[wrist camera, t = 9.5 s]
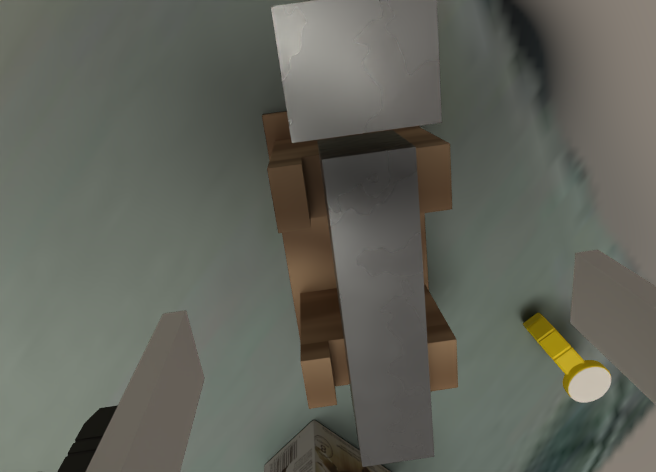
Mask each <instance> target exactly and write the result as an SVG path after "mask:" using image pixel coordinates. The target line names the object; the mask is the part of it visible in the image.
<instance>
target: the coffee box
mask: <svg viewBox="0 0 656 472" xmlns="http://www.w3.org/2000/svg"><path fill="white" fill-rule="evenodd" d="M264 472H390V471H389V470H387V469H386V468H384V467H383V466H381V465H373V466H367V467H362V462H361V455H360V451H359V450H358V449H356V448H355V447H353V446H352V445H350V444H349V443H348V442H346V441H345V440H343V439H342V438H340V437H339V436H337V435H336V434H334V433H333V432H331V431H330V430H328V429H327V428H325V427H324V426H323V425H321V424H320V423H318V422H317V421H315V420H313V421H312V422H311V423H309V424H308V425H307V426H306V427H305V428H304V429H303V430H302V431H301V432H300V433H299V434H298V435H297V436H295V437H294V438H293V439H292V440H291V441H290V442H289V443H288V444H287V445H286V446H285V447H284V448H283V449H281V450H280V451H279V452H278V453H277V454H276V455H275V456H274V457H273V458H272V459H271V460H270V461H269V462H268V463H266V464H265V466H264Z"/></svg>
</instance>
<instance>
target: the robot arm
mask: <svg viewBox="0 0 656 472" xmlns="http://www.w3.org/2000/svg"><path fill="white" fill-rule="evenodd" d="M570 323H571V324H572V325H573V326H574V327H575V328H576V329H577V330H578V331H579V332H580V333H581V334H582V335H583V336H584V337H585V338H586V339H587V340H588V341H589V342H591V343H592V344H593V345H594V346H595V347H596V348H597V349H598V350H599V351H600V352H601V353H602V354H603V355H604V356H605V357H606V358H607V359H608V360H609V361H610V362H611V363H612V364H614V365H615V366H616V367H617V368H618V369H619V370H620V371H621V372H622V373H623V374H624V375H625V376H626V377H627V378H628V379H629V380H630V381H631V382H632V383H633V384H634V385H636V386H637V387H638V388H639V389H640V390H641V391H642V392H643V393H644V394H645V395H646V396H647V397H648V398H649V399H650V400H651V401H652V402H653V403H654V404H655V405H656V286H654V285H653V284H651V283H650V282H648V281H646V280H645V279H643V278H642V277H640V276H639V275H637V274H635V273H634V272H632V271H631V270H629V269H628V268H626V267H624V266H623V265H621V264H620V263H618V262H616V261H615V260H613V259H612V258H610V257H609V256H607V255H605V254H604V253H602V252H601V251H599V250H592V251H585V252H579V253H575V266H574V279H573V292H572V305H571V318H570ZM203 382H204V375H203V371H202V367H201V363H200V360H199V356H198V352H197V349H196V345H195V341H194V338H193V334H192V330H191V327H190V323H189V319H188V316H187V312H186V310H185V311H178V312H171V313H165V314H162V316H161V319H160V321H159V323H158V325H157V327H156V329H155V331H154V333H153V335H152V337H151V339H150V341H149V343H148V345H147V347H146V349H145V351H144V353H143V355H142V357H141V359H140V361H139V364H138V366H137V368H136V370H135V372H134V374H133V376H132V378H131V380H130V382H129V384H128V386H127V388H126V390H125V392H124V394H123V396H122V398H121V400H120V402H119V404H118V406H111V407H105V408H100V409H99V410H98V411H97V412H96V413H94V414H93V415H92V416H91V417H90V418H89V419H88V420H87V421H86V422H85V423H84V425H83V427H82V429H81V430H80V432H79V434H78V436H77V438H76V439H75V443H73V445H72V447H71V448H70V450H69V452H68V456H67V457H65V459H64V461H63V463H62V464H61V466H60V468H59V470H58V472H180V470H181V466H182V462H183V458H184V455H185V451H186V447H187V443H188V439H189V436H190V432H191V428H192V424H193V420H194V417H195V413H196V409H197V405H198V401H199V397H200V394H201V390H202V386H203Z"/></svg>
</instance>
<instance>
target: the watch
mask: <svg viewBox="0 0 656 472" xmlns="http://www.w3.org/2000/svg"><path fill="white" fill-rule="evenodd" d="M523 325H524V327H525V328H526V329H527V330H528V332H529V333H530V334H531V335H532V336H533V337H534V339H535V340H536V341H537V342H538V343H539V344H540V346H541V347H542V348H543V349H544V350H545V351H546V352H547V354H548V355H549V356H550V357H551V358H552V359H553V361H554V362H555V363H556V364H557V365H558V366H559V367H560V369H561V370H562V371H563V372H564V373H565V375H564V378H563V387H564V389H565V391H566V392H567V393H568V395H569V396H570V397H571V398H572V399H574V400H575V401H578V402H590V401H594V400H596V399H598V398H600V397H601V396H602V395H603V394H605V393H606V391H607V390H608V389H609V387H610V384H611V375H610V373H609V371H608V370H607V369H606V368H605V367H604V366H603V365H602V364H601V363H600V362H597V361H594V360H585V361H584V360H583V359H582V358H581V357H580V355H579V354H578V353H577V352H576V351H575V350H574V349H573V348H572V347H571V345H570V344H569V343H568V342H567V341H566V340H565V339H564V338H563V337H562V336H561V334H560V333H559V332H558V331H557V330H556V329H555V328H554V327H553V326H552V325H551V324H550V323H549V322H548V321H547V320H546V318H544V316H542V315H541V314H540V313H536V314H535V315H534V316H532V317H531V318H530V319H528V320H527V321H526V322H524V323H523Z"/></svg>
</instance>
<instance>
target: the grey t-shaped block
mask: <svg viewBox="0 0 656 472" xmlns="http://www.w3.org/2000/svg"><path fill="white" fill-rule="evenodd" d="M271 11H272V18H273V24H274V31H275V37H276V44H277V50H278V57H279V63H280V70H281V76H282V83H283V90H284V96H285V103H286V109H287V116H288V122H289V129H290V135H291V142H292V143H296V142H304V141H311V140H317V144H318V151H319V159H320V166H321V174H322V181H323V189H324V196H325V204H326V211H327V219H328V226H329V234H330V241H331V249H332V256H333V263H334V271H335V278H336V286H337V293H338V301H339V308H340V316H341V323H342V331H343V338H344V346H345V353H346V361H347V368H348V376H349V383H350V391H351V398H352V405H353V412H354V418H355V424H356V430H357V437H358V443H359V449H360V455H361V462H362V467H367V466H373V465H380V464H387V463H394V462H401V461H408V460H414V459H421V458H428V457H434V443H433V427H432V410H431V393H430V376H429V360H428V343H427V326H426V309H425V293H424V276H423V259H422V242H421V225H420V209H419V192H418V175H417V158H416V147H415V146H414V145H413V144H411V143H410V142H408V141H407V140H406V139H404V138H403V137H402V136H400V135H399V134H397V133H396V132H395V131H393V130H391V129H398V128H406V127H413V126H420V125H427V124H435V123H442V115H441V90H440V64H439V39H438V14H437V0H314V1H307V2H299V3H292V4H284V5H277V6H271ZM384 130H390V131H384ZM376 131H383V132H376ZM369 132H375V133H369ZM362 133H368V134H362ZM355 134H361V135H355ZM347 135H354V136H347ZM340 136H346V137H340ZM333 137H339V138H333ZM325 138H332V139H325ZM318 139H324V140H318Z"/></svg>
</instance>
